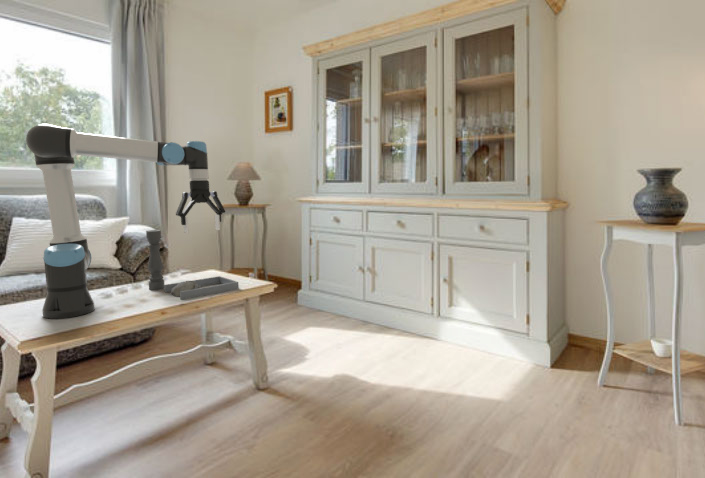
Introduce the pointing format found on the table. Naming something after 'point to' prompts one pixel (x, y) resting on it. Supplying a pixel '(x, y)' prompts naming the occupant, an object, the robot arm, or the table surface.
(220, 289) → the tray
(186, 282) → the fossilized seashell
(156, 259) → the candle holder
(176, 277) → the table surface
